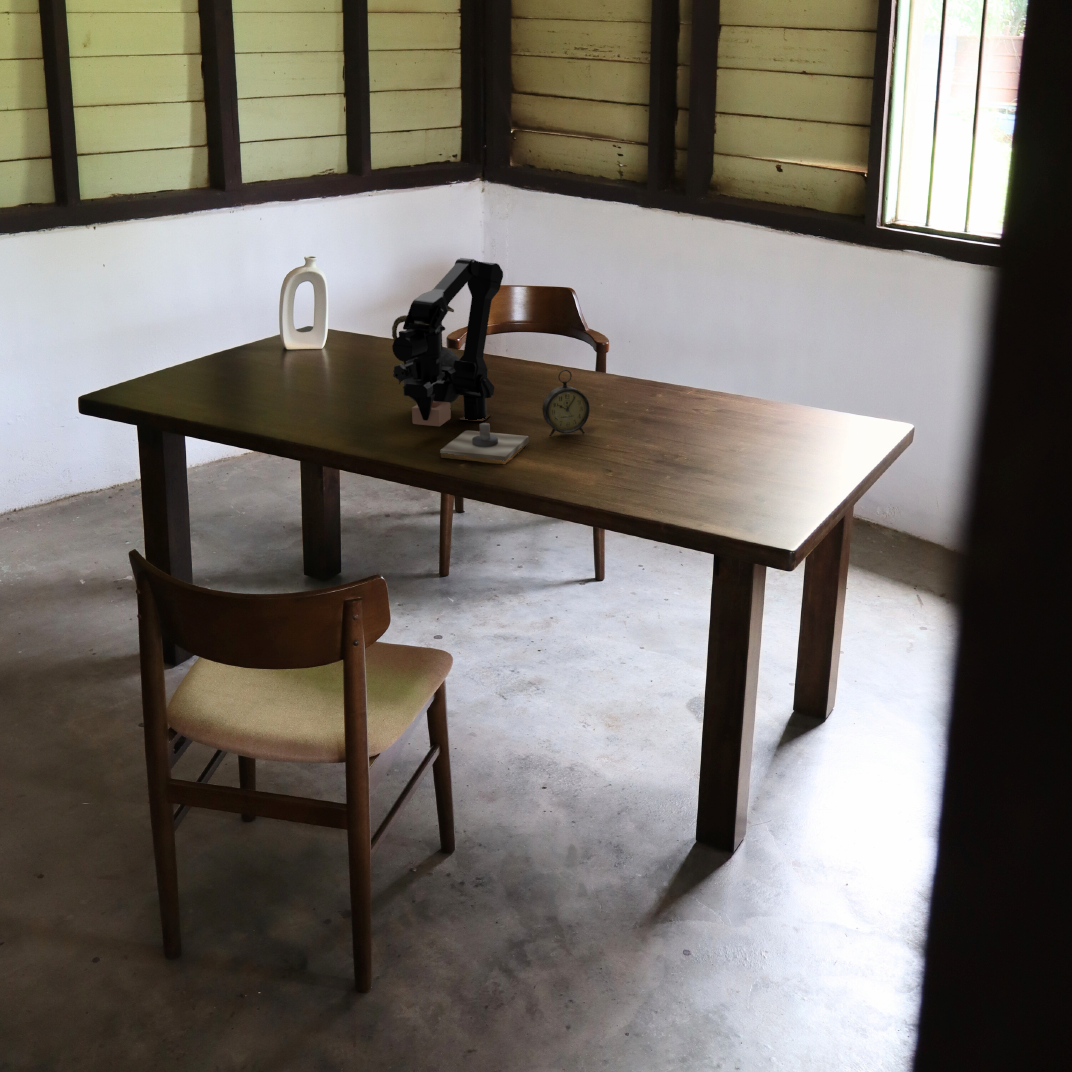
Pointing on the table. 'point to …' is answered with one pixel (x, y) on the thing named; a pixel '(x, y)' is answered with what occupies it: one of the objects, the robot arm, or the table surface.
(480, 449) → the post stand
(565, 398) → the alarm clock
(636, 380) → the table surface
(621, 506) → the table surface
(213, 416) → the table surface
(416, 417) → the collar
